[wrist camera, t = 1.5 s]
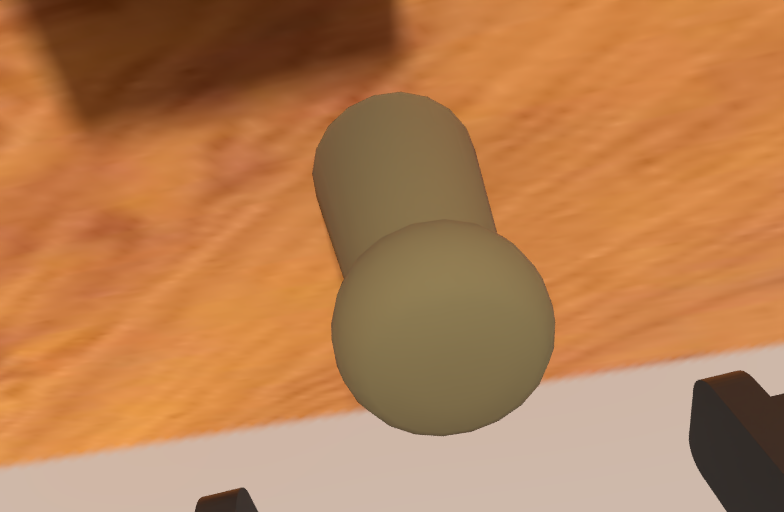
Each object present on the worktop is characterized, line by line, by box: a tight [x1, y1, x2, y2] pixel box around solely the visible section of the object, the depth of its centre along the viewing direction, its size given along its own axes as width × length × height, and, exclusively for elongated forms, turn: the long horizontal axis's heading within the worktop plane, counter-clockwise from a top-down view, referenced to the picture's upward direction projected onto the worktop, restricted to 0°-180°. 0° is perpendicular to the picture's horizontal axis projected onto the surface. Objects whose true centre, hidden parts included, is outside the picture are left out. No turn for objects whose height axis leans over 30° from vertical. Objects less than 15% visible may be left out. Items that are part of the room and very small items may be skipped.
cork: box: [312, 92, 555, 436], centre depth 18 cm, size 6×6×11 cm
